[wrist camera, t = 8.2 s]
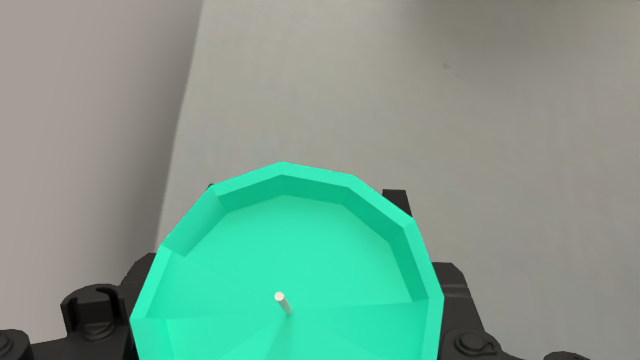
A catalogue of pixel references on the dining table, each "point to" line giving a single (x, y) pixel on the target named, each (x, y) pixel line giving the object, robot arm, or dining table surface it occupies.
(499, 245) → the dining table surface
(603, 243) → the dining table surface
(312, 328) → the candle
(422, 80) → the dining table surface
